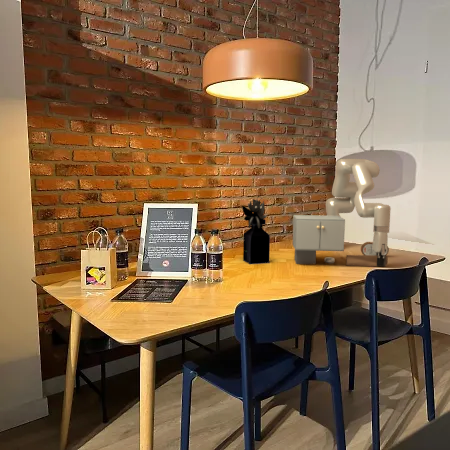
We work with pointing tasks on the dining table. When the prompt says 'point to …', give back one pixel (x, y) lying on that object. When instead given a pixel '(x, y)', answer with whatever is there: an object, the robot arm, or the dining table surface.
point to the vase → (256, 235)
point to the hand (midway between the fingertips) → (379, 264)
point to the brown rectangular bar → (364, 260)
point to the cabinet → (316, 236)
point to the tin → (370, 249)
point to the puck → (329, 260)
